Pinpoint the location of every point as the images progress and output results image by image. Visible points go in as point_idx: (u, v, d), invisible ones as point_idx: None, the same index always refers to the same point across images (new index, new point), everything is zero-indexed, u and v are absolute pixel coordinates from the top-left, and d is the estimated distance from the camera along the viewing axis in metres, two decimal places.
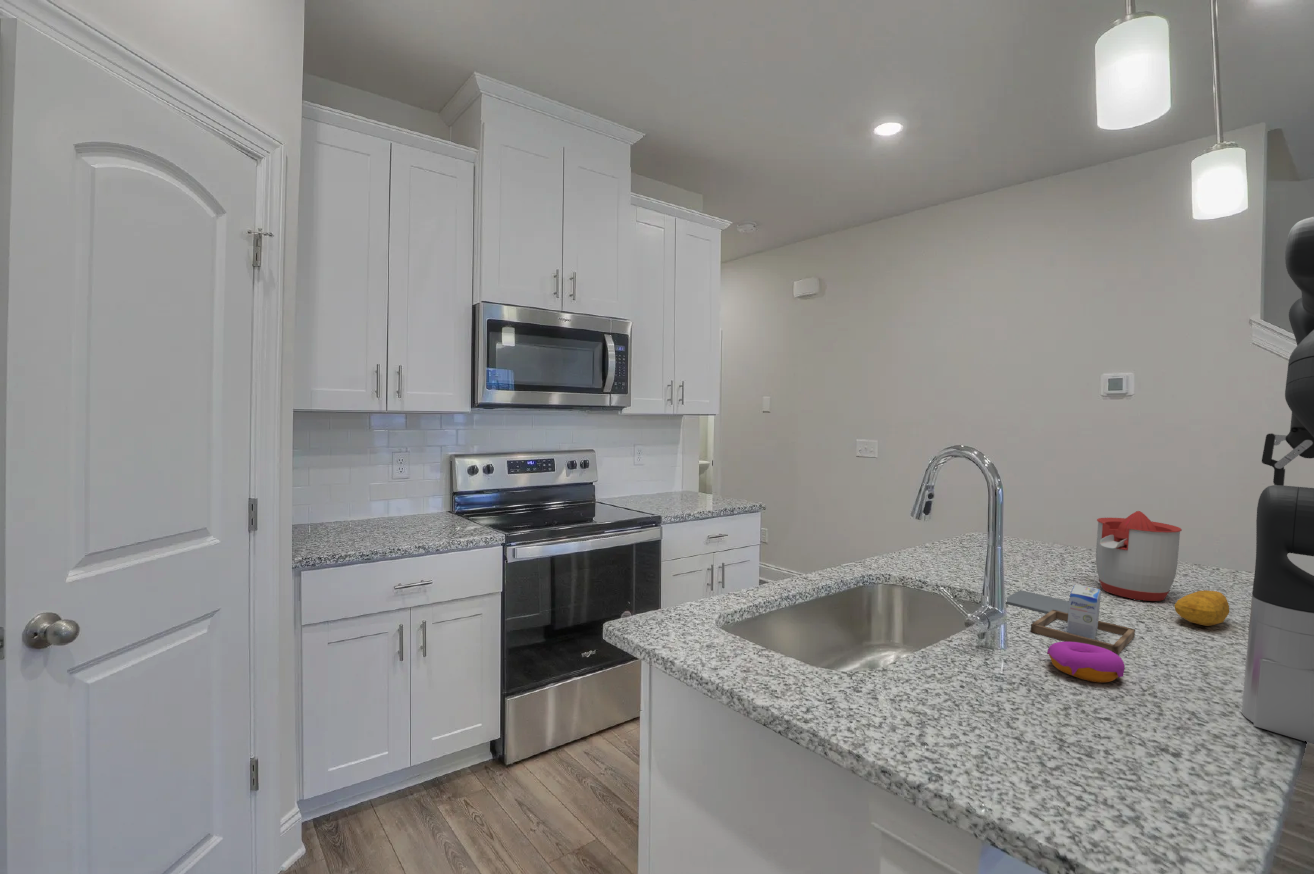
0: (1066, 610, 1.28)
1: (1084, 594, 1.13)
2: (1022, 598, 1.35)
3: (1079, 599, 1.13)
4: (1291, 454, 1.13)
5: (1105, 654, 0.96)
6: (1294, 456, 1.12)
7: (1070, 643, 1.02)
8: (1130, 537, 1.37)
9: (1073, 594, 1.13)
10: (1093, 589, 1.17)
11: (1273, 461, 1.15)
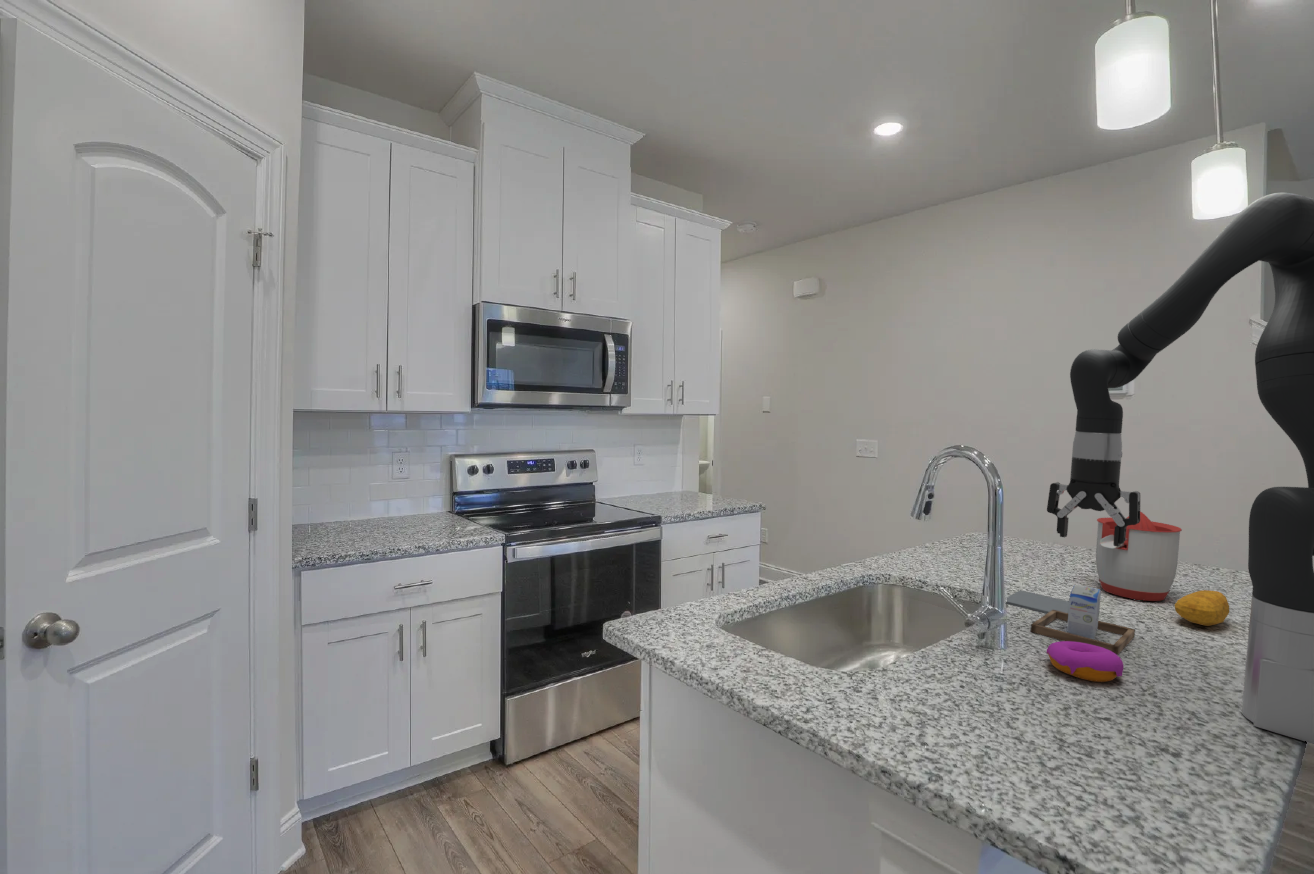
0: (1066, 610, 1.28)
1: (1084, 594, 1.13)
2: (1022, 598, 1.35)
3: (1079, 599, 1.13)
4: (1069, 504, 1.16)
5: (1104, 653, 0.96)
6: (1072, 506, 1.15)
7: (1069, 643, 1.02)
8: (1130, 537, 1.37)
9: (1073, 594, 1.13)
10: (1093, 589, 1.17)
11: (1056, 510, 1.18)
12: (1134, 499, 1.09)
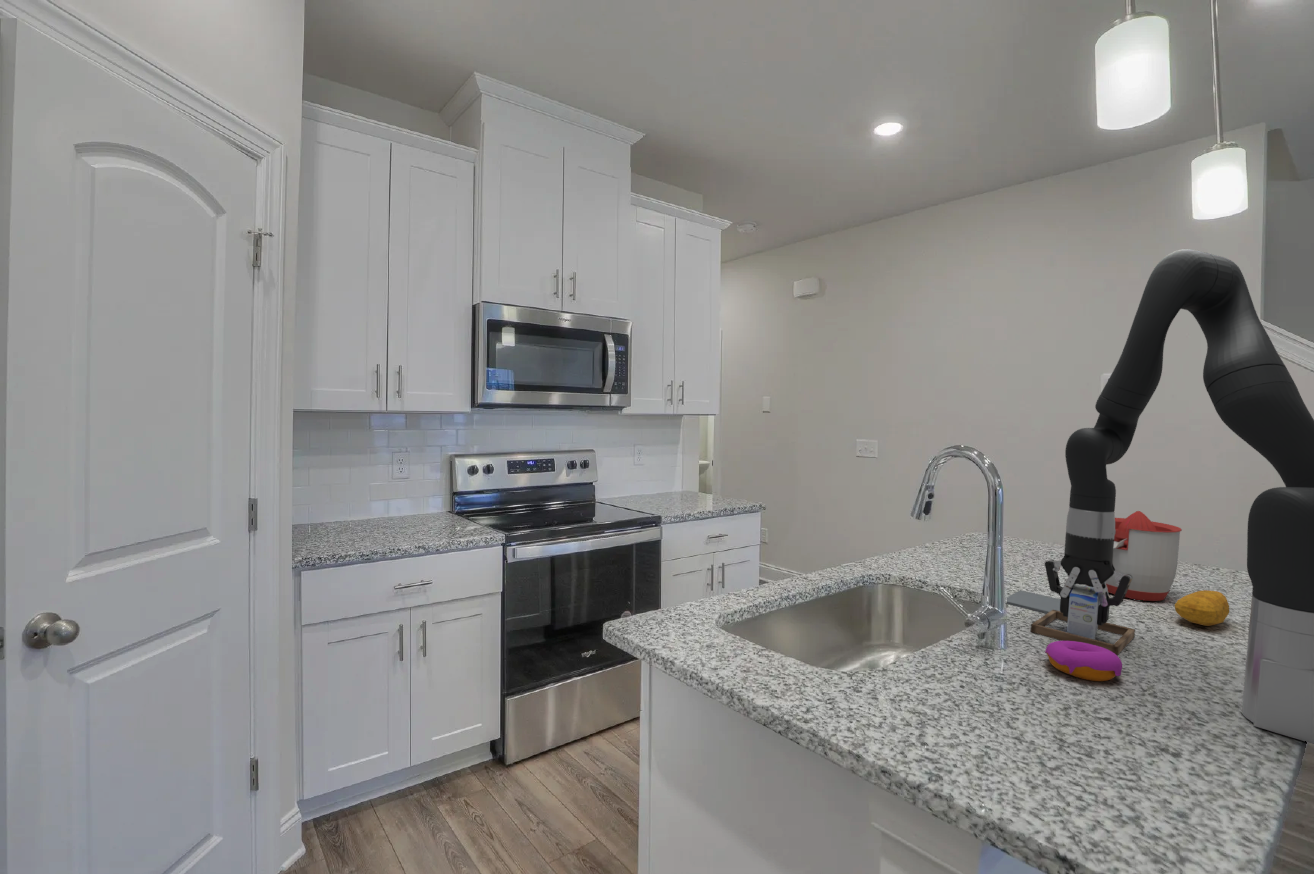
0: None
1: (1084, 594, 1.13)
2: (1022, 598, 1.35)
3: (1078, 599, 1.13)
4: (1068, 582, 1.16)
5: (1103, 653, 0.96)
6: (1071, 584, 1.16)
7: (1068, 642, 1.02)
8: (1130, 537, 1.37)
9: (1073, 594, 1.13)
10: (1093, 589, 1.17)
11: (1059, 589, 1.18)
12: (1125, 583, 1.10)
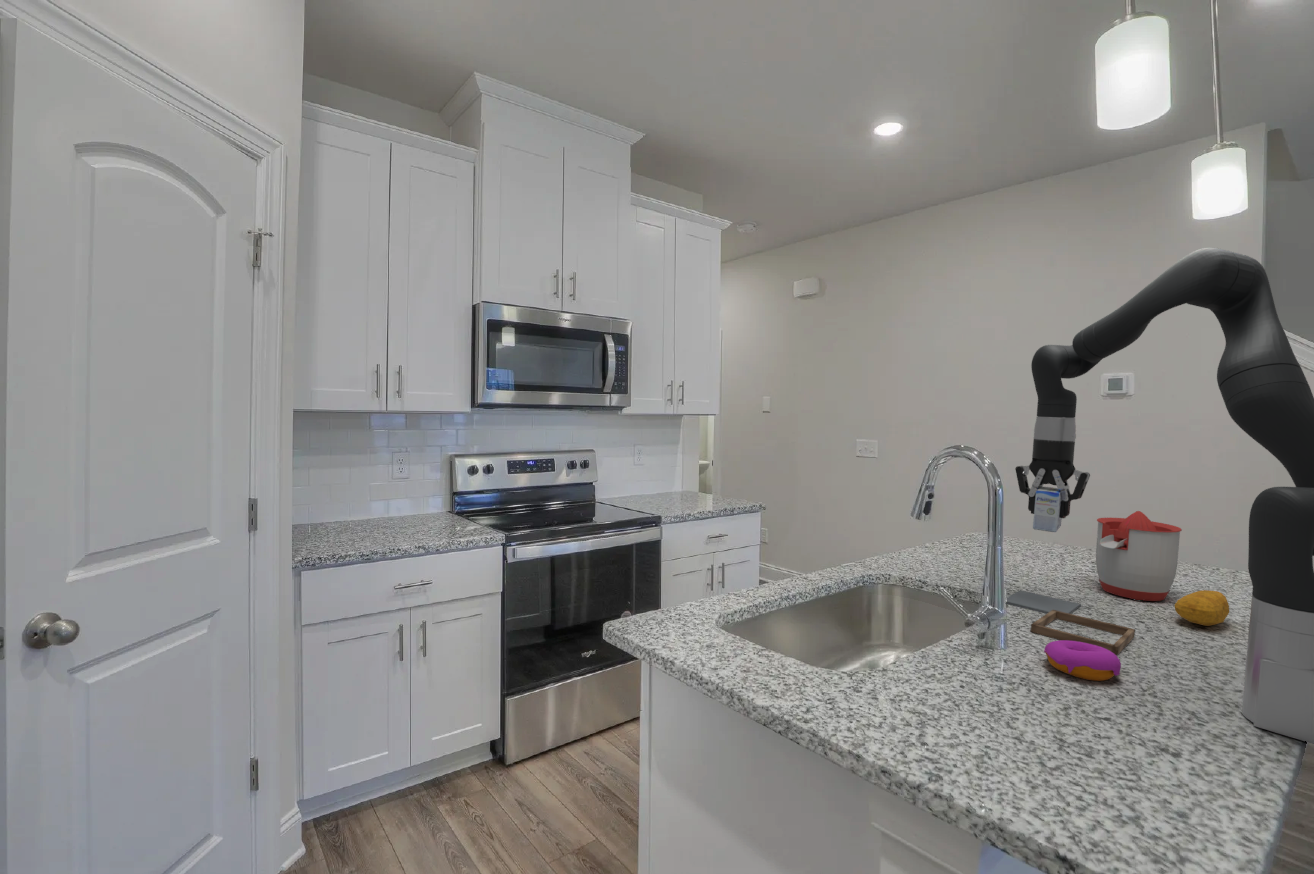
0: (1066, 610, 1.28)
1: (1048, 490, 1.29)
2: (1022, 598, 1.35)
3: (1043, 495, 1.29)
4: (1035, 483, 1.32)
5: (1101, 652, 0.96)
6: (1037, 484, 1.32)
7: (1067, 642, 1.02)
8: (1130, 537, 1.37)
9: (1039, 491, 1.29)
10: (1057, 489, 1.33)
11: (1028, 490, 1.34)
12: (1083, 479, 1.26)
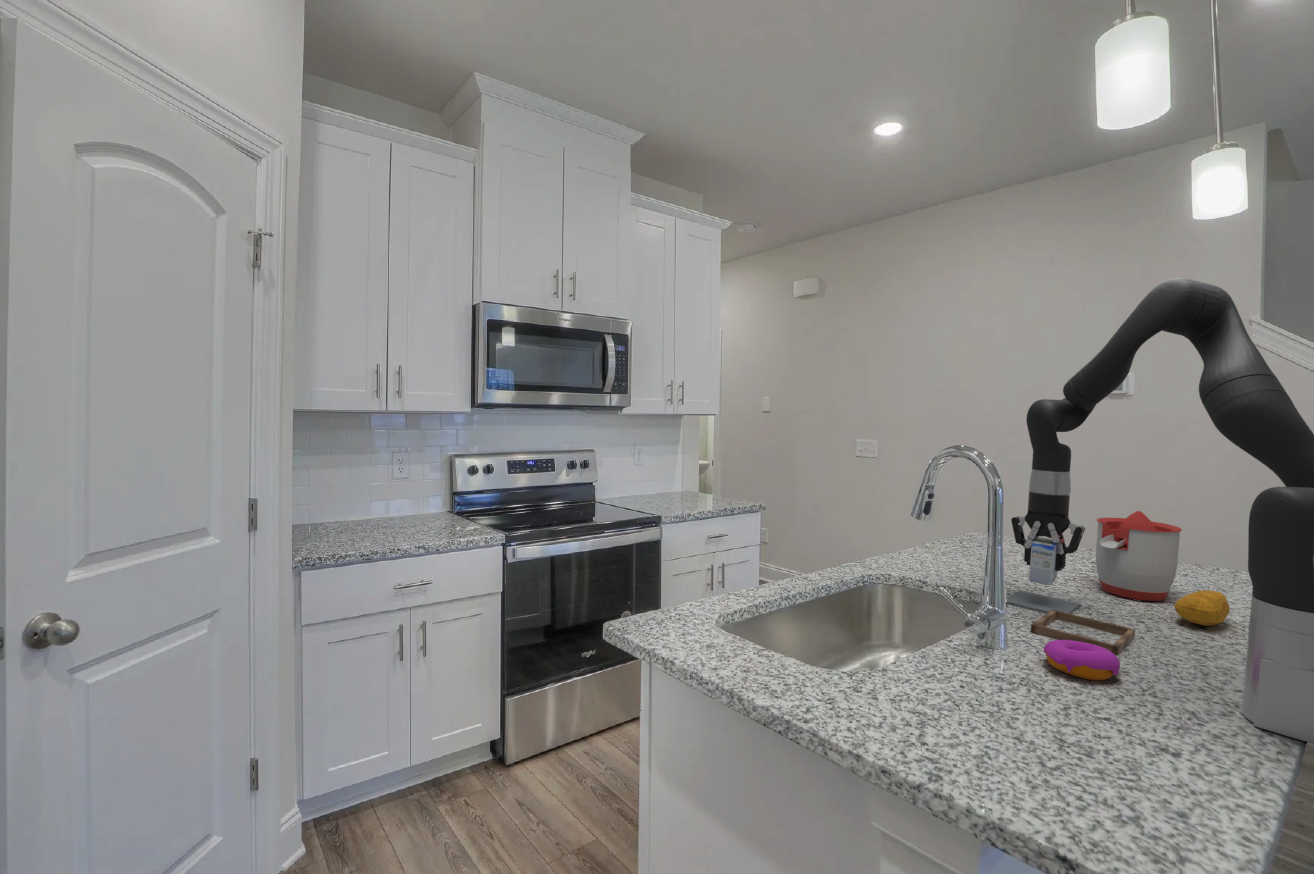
0: (1066, 610, 1.28)
1: (1044, 543, 1.30)
2: (1022, 598, 1.35)
3: (1039, 548, 1.30)
4: (1031, 535, 1.33)
5: (1100, 652, 0.97)
6: (1033, 536, 1.33)
7: (1066, 641, 1.03)
8: (1130, 537, 1.37)
9: (1034, 544, 1.31)
10: None
11: (1024, 541, 1.35)
12: (1078, 533, 1.27)
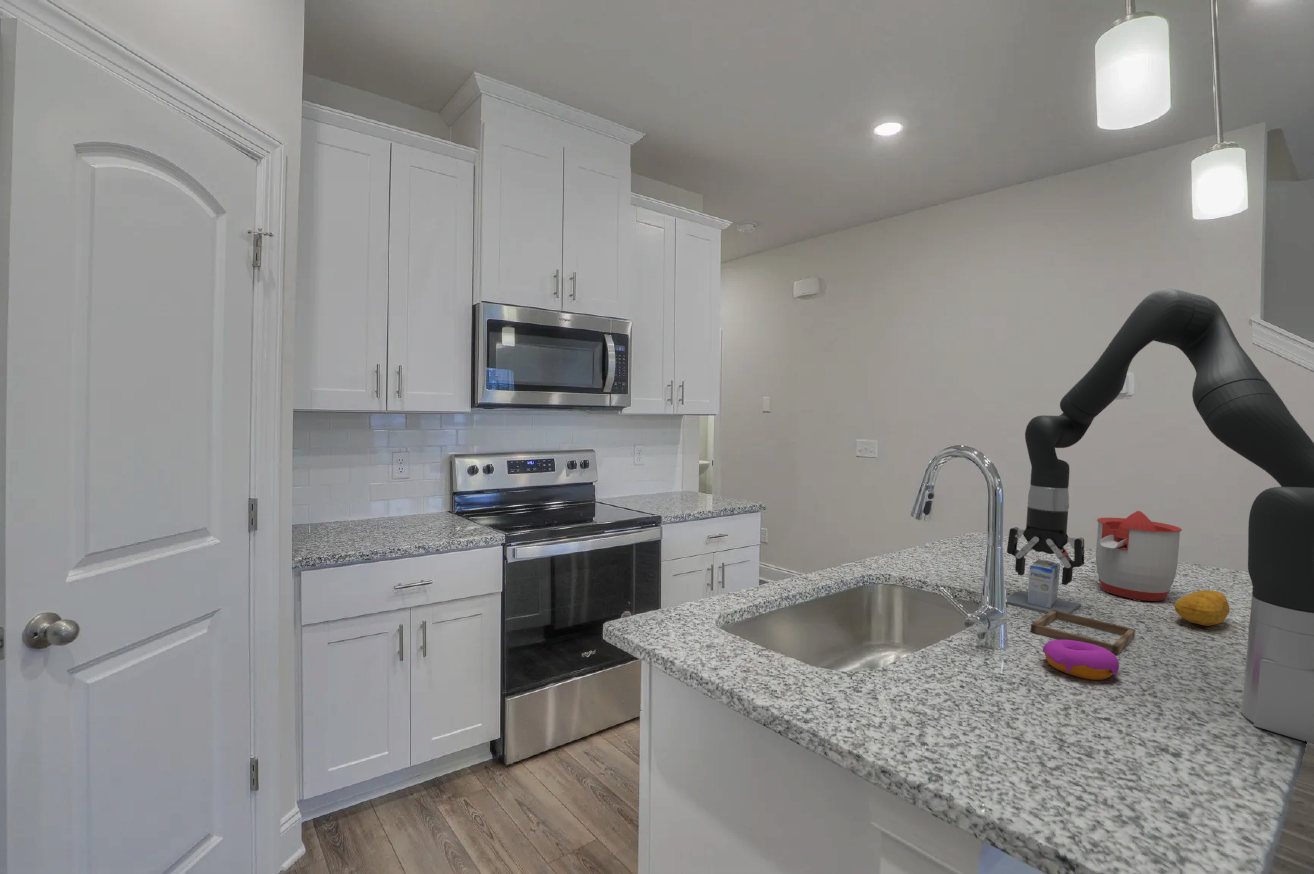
0: (1066, 610, 1.28)
1: (1042, 566, 1.30)
2: (1022, 598, 1.35)
3: (1037, 571, 1.30)
4: (1025, 547, 1.34)
5: (1100, 652, 0.97)
6: (1027, 549, 1.34)
7: (1065, 641, 1.03)
8: (1130, 537, 1.37)
9: (1033, 566, 1.31)
10: (1053, 563, 1.34)
11: (1015, 551, 1.36)
12: (1078, 545, 1.27)
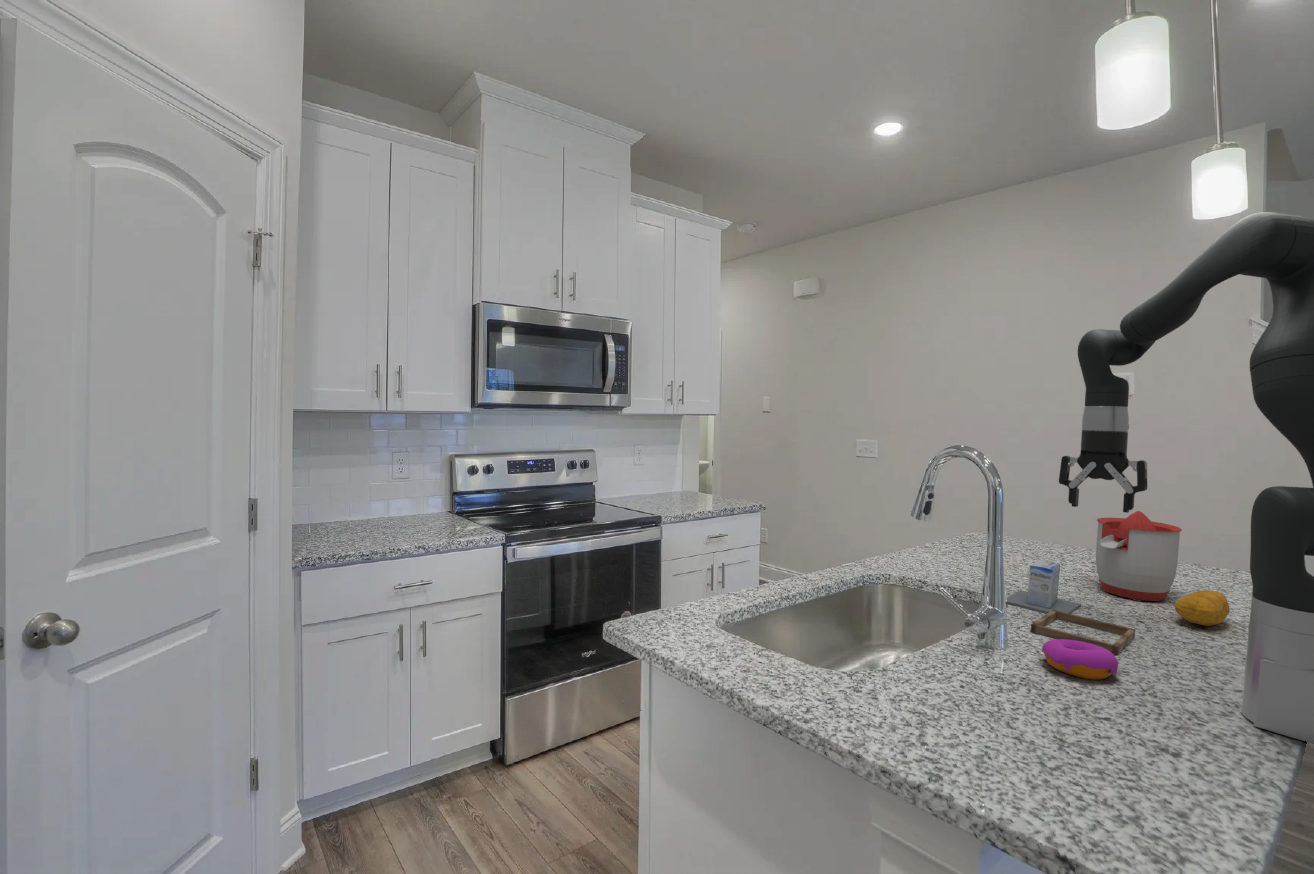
0: (1066, 610, 1.28)
1: (1042, 566, 1.30)
2: (1022, 598, 1.35)
3: (1037, 571, 1.30)
4: (1080, 475, 1.23)
5: (1099, 651, 0.97)
6: (1083, 477, 1.23)
7: (1064, 641, 1.03)
8: (1130, 537, 1.37)
9: (1033, 566, 1.31)
10: (1053, 563, 1.34)
11: (1068, 481, 1.25)
12: (1142, 467, 1.16)
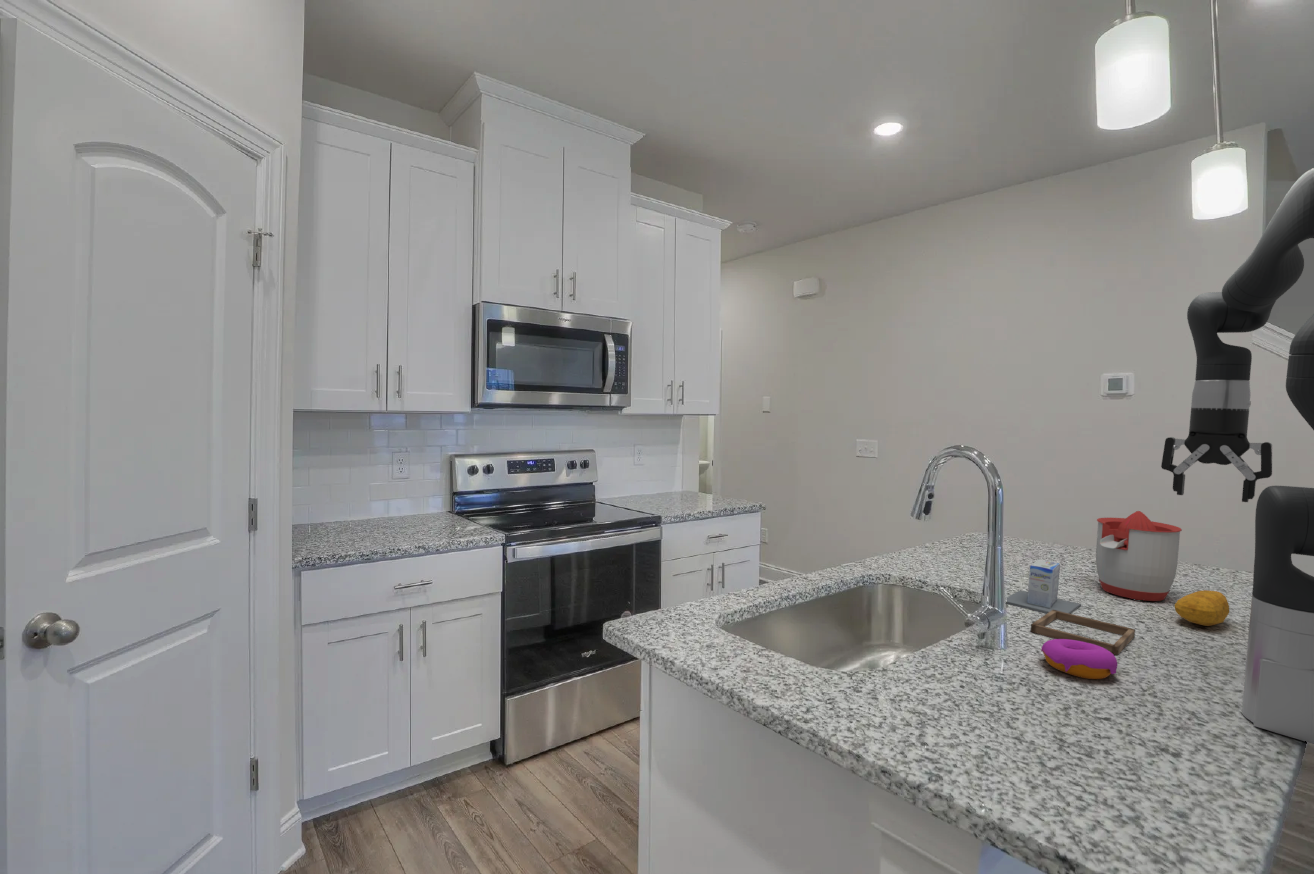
0: (1066, 610, 1.28)
1: (1042, 566, 1.30)
2: (1022, 598, 1.35)
3: (1037, 571, 1.30)
4: (1189, 459, 1.08)
5: (1098, 651, 0.97)
6: (1192, 461, 1.08)
7: (1064, 640, 1.03)
8: (1130, 537, 1.37)
9: (1033, 566, 1.31)
10: (1053, 563, 1.34)
11: (1172, 466, 1.10)
12: (1267, 450, 1.01)
